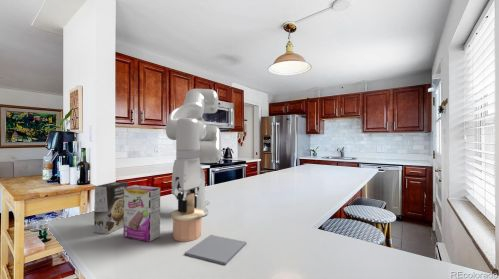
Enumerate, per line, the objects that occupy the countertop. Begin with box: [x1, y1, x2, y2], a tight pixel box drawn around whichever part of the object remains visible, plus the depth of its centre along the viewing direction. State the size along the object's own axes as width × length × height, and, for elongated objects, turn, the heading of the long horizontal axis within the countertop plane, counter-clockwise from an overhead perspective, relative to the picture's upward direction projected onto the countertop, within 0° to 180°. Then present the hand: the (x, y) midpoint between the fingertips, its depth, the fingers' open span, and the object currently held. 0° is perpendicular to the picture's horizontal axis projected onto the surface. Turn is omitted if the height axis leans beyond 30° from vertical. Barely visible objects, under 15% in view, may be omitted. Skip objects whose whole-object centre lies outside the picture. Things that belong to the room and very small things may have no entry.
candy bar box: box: [123, 184, 161, 243], centre depth 74 cm, size 11×5×16 cm, turn 71°
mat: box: [184, 234, 247, 266], centre depth 66 cm, size 13×13×1 cm
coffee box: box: [93, 181, 129, 235], centre depth 82 cm, size 9×6×16 cm
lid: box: [170, 193, 204, 221], centre depth 76 cm, size 11×11×7 cm
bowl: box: [172, 217, 203, 243], centre depth 76 cm, size 9×9×7 cm
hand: (187, 209), depth 76 cm, fingers closed on lid, 4 cm apart
